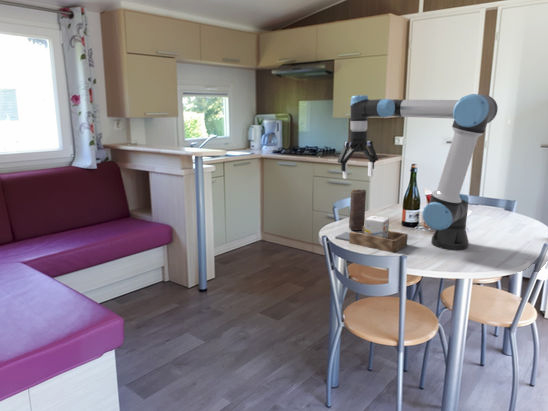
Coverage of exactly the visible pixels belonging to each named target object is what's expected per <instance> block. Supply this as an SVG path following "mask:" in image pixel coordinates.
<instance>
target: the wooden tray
mask: <svg viewBox="0 0 548 411" xmlns="http://www.w3.org/2000/svg"><path fill="white" fill-rule="evenodd" d="M361 231H362V232H361V233H360V232H355V231H350V232H349V233H350V241H348V243H349V244H352V245H356V246H362V247H365V248H369V249H370V248H371V249H376V250H378V251H379V250H380V251H384V252H388V253H393V254H395V253H396V252H398V251H399V250H401V249H403V248H404V247H406V246H407V244H408V236H409V235H408V233H404V232H398V231H395V230H394V231H392V230H389V229H388V239H386V238H381V237H376V236H370V235H365V234H364V231H365V225H364V226H363V230H361Z"/></svg>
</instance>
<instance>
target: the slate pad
mask: <svg viewBox="0 0 548 411" xmlns="http://www.w3.org/2000/svg"><path fill="white" fill-rule="evenodd" d="M334 239H335V240H341V241H346V242H349V241H350V232H348V231H345V232H343V233H340V234H338V235H336V236H334Z"/></svg>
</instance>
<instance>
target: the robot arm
mask: <svg viewBox="0 0 548 411" xmlns="http://www.w3.org/2000/svg"><path fill="white" fill-rule="evenodd" d="M349 108H350V124H349V125H350V127H349V128H350V129H349V130H351V131H350V134H349V139H350V141H344V142H343V147H342V150H341V152H340V154H339V156H338V159H337V163H339V164H340V166H341V172H342V179H344V180H345V179H346V180H347V179H348V164H347V163H348V161H349V160H350V158H351V157H352V156H353V154H354V153H355V152H356V153H358V152H362V153H363V154H364V156H366V159H367V160H368V161H369V162H367V177H371V178H372V177H373V175H374V174H373V172H374V169H375V163H376V162H377V161H379V157H378V155H377V153H376V150H375V147H374V145H373V144H374V143H373V140H367V139H368V131H367V130H368V118H388V117H389V118H391V117H394V118H395V117H396V118H399V117H401V118H403V117H404V118H426V119H427V118H429V119H449V120H450V119H453V123H452V125H451V128H452V130H453V132H454V134H453V137H452V140H451V144H450V146H449V149H448V153H447V156H446V159H445V162H444V166H443V169H442V173H441V176H440V179H439V182H438V185H437V189H436V190H434V191H433V192H432V193H431V195H430V199H429V202H428V203H426V205H425V206H424V208H423V209H422V212H421V213H422V214H421V215H422V219H423V221H424V223H425V224H426V226H427V227H429V228H430V229H433V230H434V232H433V234H432V236H431V242H430V243H431V244H432V245H433V246H434V247H436V248H441V249H445V250H452V251H453V250H454V251H456V250H457V251H459V250H465V249H467V248H469V239H468V234H467V230H466V229H467V228H466V227H467V221H468V220H467V218H468V210H469V208H468V207H469V204H470V203H469V199H470V198H469V196H468V195H467V194H463V193H461V191H462V188H463V185H464V182H465V178H466V176H467V172H468V169H469V167H470V163H471V160H472V156H473V154H474V150H475V148H476V144H477V142H478V140H479V138H480V137H481V136H482V135H484V134H485V131H486V129H487V125H488V124H489V123H492V121H493V120H494V119H495V118H496V116H497V113H498V111H499V110H498V109H499V108H498V104H497V101H496V100H495V99H494V98H493V97H492V96H491V95H488V94H479V93H472V94H471V93H469V94H467V95H465V96H462V97H461V98H459V99H398V98H397V99H396V98H395V99H392V98H379V99H369V96H368V95H366V94H364V95H362V94H361V95H352V96H351V97H350V107H349ZM368 150H369V151H368Z"/></svg>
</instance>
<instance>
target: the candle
mask: <svg viewBox="0 0 548 411" xmlns="http://www.w3.org/2000/svg"><path fill="white" fill-rule="evenodd" d="M366 196H367V190H366V189H352V190H351V191H350V201H349V202H350V206H349V218H348V220H349V221H348V228H349V229H350V230H351V231H363V226H365V219H366V217H365V216H366V198H367V197H366Z"/></svg>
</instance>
